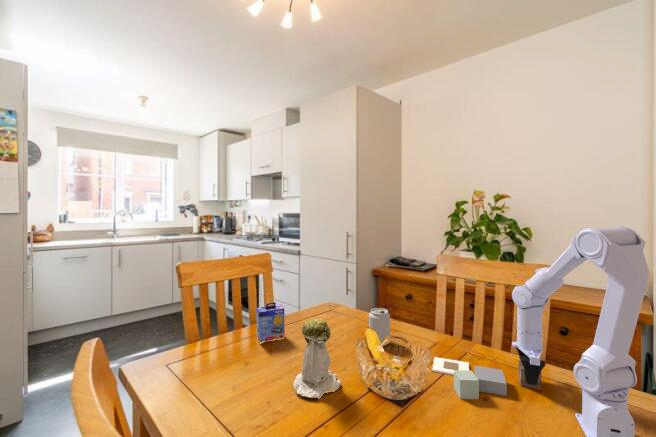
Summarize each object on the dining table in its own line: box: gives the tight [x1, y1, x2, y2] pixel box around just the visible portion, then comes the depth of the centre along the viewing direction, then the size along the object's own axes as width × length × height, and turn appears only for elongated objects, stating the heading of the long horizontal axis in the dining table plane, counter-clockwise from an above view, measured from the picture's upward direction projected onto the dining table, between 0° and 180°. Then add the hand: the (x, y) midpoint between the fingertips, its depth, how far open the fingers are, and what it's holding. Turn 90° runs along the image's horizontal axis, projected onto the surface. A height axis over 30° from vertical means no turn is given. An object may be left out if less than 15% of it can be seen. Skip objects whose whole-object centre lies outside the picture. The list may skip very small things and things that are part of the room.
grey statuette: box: [292, 318, 341, 400], centre depth 86 cm, size 12×13×18 cm
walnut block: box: [517, 359, 542, 391], centre depth 85 cm, size 5×5×5 cm
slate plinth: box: [474, 365, 508, 397], centre depth 84 cm, size 7×7×4 cm
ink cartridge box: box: [255, 301, 286, 342], centre depth 116 cm, size 10×6×14 cm, turn 115°
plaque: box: [431, 356, 470, 376], centre depth 93 cm, size 8×10×1 cm
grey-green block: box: [453, 370, 480, 400], centre depth 81 cm, size 5×5×5 cm
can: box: [368, 307, 391, 343], centre depth 111 cm, size 8×8×12 cm
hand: (529, 378), depth 85 cm, fingers open, 5 cm apart
